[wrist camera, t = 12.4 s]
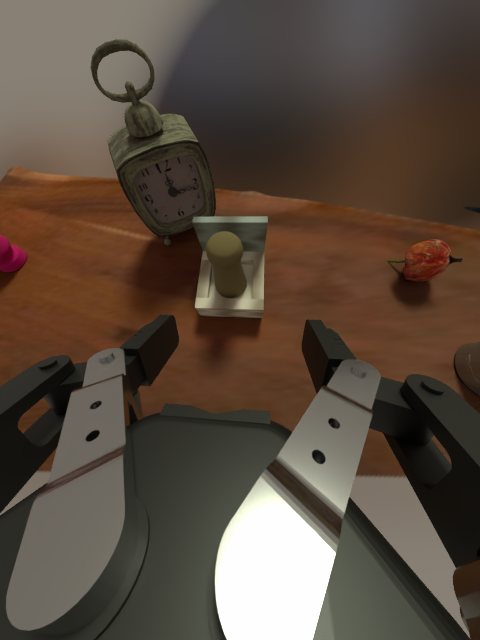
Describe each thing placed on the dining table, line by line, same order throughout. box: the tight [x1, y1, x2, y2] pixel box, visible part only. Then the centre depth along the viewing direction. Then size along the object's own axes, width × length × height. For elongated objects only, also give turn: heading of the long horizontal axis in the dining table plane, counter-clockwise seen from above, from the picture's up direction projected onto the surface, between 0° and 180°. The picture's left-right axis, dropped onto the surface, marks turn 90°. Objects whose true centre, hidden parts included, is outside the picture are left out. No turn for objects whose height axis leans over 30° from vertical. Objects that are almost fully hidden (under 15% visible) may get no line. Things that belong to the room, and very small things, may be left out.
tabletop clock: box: [91, 40, 216, 245], centre depth 31 cm, size 14×9×25 cm, turn 114°
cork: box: [206, 231, 247, 298], centre depth 29 cm, size 6×6×11 cm
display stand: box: [192, 217, 268, 318], centre depth 32 cm, size 12×13×11 cm
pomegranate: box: [388, 239, 464, 282], centre depth 33 cm, size 7×7×10 cm
